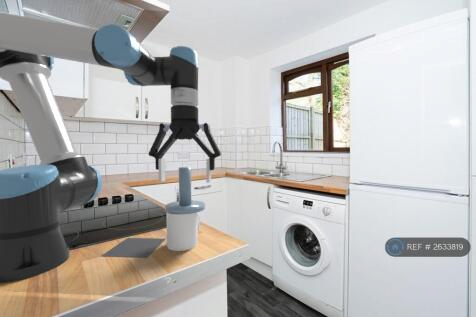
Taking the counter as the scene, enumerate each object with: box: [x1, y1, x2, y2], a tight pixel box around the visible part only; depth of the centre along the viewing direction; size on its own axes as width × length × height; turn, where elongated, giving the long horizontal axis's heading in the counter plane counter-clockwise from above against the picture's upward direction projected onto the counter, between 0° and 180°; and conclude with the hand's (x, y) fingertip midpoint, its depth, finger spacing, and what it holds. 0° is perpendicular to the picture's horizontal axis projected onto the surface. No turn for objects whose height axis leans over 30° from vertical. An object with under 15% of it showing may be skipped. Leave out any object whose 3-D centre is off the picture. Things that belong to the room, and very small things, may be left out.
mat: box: [101, 237, 166, 259], centre depth 63 cm, size 12×12×1 cm
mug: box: [165, 211, 201, 252], centre depth 66 cm, size 12×8×10 cm
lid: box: [164, 166, 206, 214], centre depth 65 cm, size 11×11×12 cm
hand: (185, 181), depth 65 cm, fingers open, 13 cm apart
